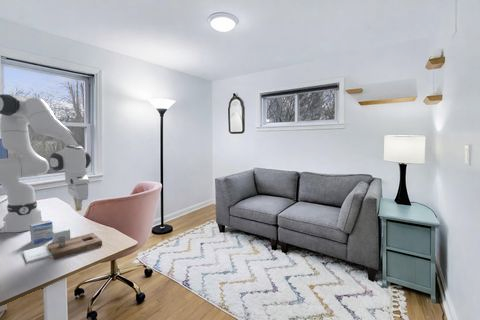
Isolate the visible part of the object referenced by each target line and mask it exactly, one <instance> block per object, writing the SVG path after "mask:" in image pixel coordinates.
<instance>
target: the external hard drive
mask: <svg viewBox="0 0 480 320" xmlns="http://www.w3.org/2000/svg"><path fill="white" fill-rule="evenodd" d="M22 255H23V257H25V258H24V259H25V262H27V263H26V264H31V263H34V261H35V262H38V261H41V260H44V258H45V259H47V258H51V257H52V258H53V256H52V254H51V252H50V250H49V249H48V245H46V244H45V245H41V246H38V247H33V248H30V249H26V250H23V251H22ZM40 259H41V260H40ZM37 260H38V261H37Z"/></svg>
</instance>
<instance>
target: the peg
mask: <svg viewBox="0 0 480 320" xmlns="http://www.w3.org/2000/svg"><path fill="white" fill-rule="evenodd" d="M74 206H75V211H76V212H80V211H82V207H77V199H76V198H75V202H74Z"/></svg>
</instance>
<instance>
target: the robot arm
mask: <svg viewBox="0 0 480 320" xmlns="http://www.w3.org/2000/svg"><path fill="white" fill-rule="evenodd" d="M0 115H1V116H0V138H1V145H2V147H3V148H4V149H6V150H7V151H10V152H14V153H15V154H17V155H18V157H10V158H8V157H7V158H0V185H1V186H2V187H3V188H4V189H5V193H6V196H7V197H6V198H7V203H8V204H7V206H6V209H7V214H5V215H4V216H3V222H4V223H3V226H2V228H1V229H0V233H1V234H2V233H19V232H20V233H22V232H26V231H30V225H31V224H35V223H40V222H44V221H45V220H44V219H42V218H43V217H42V211H41V209H39V208H38V203H37V200H36V191H35V190H36V189H35V188H34V186H33V185H31V184H27V183H24V182H20V180H19V179H24V178H32V177H39V176H42V175H43V176H44V175H45V174H47V173H48V171H49V170H50V168H51V170H53V171H55V172H64V177H65V178H64V179H65V184H67V190H68V195H69V196H71V197H72V199H73V201H74V203H75V198H76V199H77V207H81V208H82V207H83V201H86V200H88V199H89V184H90V179H89V177H88V172H87V171H88V170H87V168H88V167H89V166H90V165H91V162H92V158H91V155H90V154H89V152H87V151H86V150H85V148H84V147H83V146H82V145H81V143H80V142H79V140H78V139H77V138H76V136H75V135H74V133H73V132H72V131H71V130H70V128H68V127H67V126H66V125H64V124H63V123H62V122H60V120H58V118H57V117H56V116H55V114H54V112H53V110H52V109H51V107H50V106H49V105H48V103H47V102H46V101H45V100H44V99H42V98H40V97H28V96H24V95H12V94H7V93H6V94H0ZM28 123H29V125H30V127H31V128H32V130H33V131H35V132H36V133H38V134H40V135H42V136H47V137H50V138H51V137H52V138H54V139H58V140H60V141H62V142H63V143H64V144H65V146H64V148H63V149H61V150H59V151H56V152H53V153H52V154H50V156H49V157H48V160H47V159H46V157H43V156H41V155H40V154H38V153H37V152H36V151H35V150H34V148H33V147H32V144H31V139H30V131H29V125H28Z"/></svg>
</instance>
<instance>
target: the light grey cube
mask: <svg viewBox="0 0 480 320" xmlns="http://www.w3.org/2000/svg"><path fill="white" fill-rule="evenodd" d="M61 236H65V240H67V239H71V229H70V228H69V227H68V226H61V227H59V228H58V227H57V228H53V230H52V239H51V241H52V243H55V242H58V238H59V237H61Z"/></svg>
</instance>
